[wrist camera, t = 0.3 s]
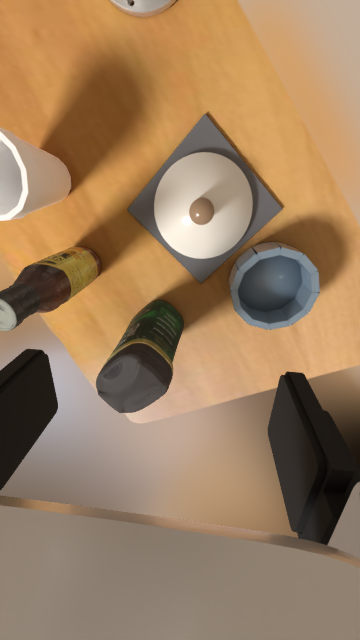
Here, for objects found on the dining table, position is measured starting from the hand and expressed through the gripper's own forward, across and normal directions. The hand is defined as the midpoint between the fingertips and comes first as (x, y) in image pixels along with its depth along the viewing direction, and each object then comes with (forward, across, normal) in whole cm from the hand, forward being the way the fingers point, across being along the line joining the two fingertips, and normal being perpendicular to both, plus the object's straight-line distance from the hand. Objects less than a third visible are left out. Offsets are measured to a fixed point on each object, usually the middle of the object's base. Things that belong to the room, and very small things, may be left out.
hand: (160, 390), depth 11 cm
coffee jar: (+35, +6, +14) cm, 38 cm away
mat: (+34, 0, -5) cm, 35 cm away
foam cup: (+34, +22, -9) cm, 42 cm away
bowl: (+34, -12, +5) cm, 37 cm away
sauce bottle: (+34, +19, +4) cm, 40 cm away
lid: (+34, 0, -5) cm, 34 cm away
